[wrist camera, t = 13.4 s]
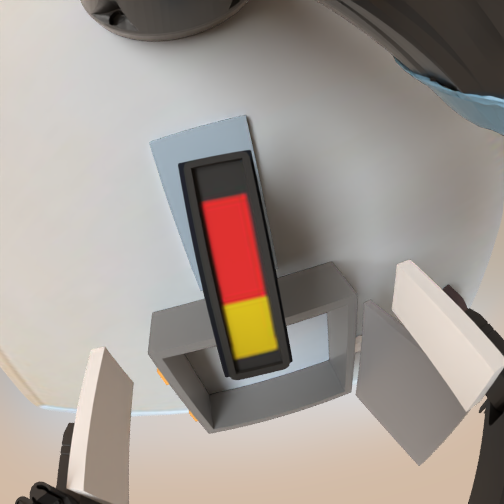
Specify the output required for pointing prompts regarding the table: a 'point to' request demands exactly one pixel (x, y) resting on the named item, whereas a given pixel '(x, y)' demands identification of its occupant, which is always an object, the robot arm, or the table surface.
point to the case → (273, 390)
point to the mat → (191, 148)
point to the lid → (404, 386)
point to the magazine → (236, 263)
